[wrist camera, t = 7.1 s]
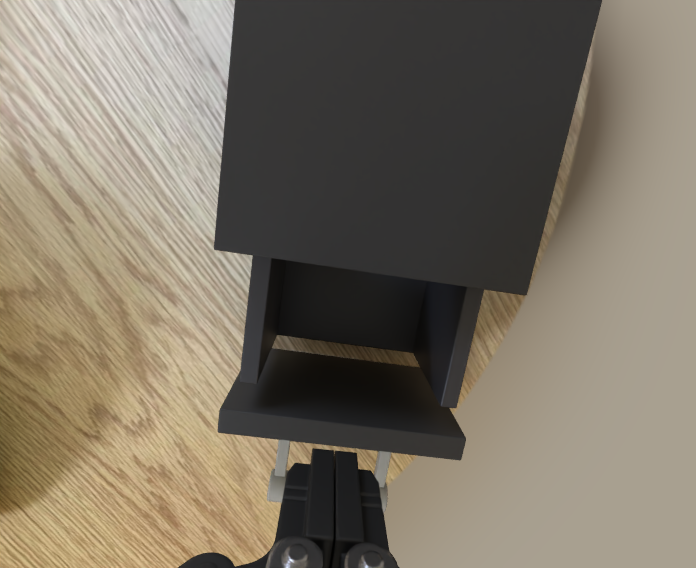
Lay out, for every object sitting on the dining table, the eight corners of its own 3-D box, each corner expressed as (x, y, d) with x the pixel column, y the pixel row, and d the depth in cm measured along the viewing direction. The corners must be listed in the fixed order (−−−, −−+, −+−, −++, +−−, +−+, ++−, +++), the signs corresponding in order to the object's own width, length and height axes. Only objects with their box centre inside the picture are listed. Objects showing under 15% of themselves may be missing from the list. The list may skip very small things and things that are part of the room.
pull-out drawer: (408, 458, 27) (437, 559, 20) (243, 439, 27) (207, 536, 19) (467, 177, 23) (533, 166, 16) (275, 145, 23) (247, 118, 15)
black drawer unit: (455, 259, 25) (527, 295, 16) (258, 230, 24) (213, 249, 15) (508, 8, 22) (635, -128, 13) (287, -36, 22) (253, -217, 12)
